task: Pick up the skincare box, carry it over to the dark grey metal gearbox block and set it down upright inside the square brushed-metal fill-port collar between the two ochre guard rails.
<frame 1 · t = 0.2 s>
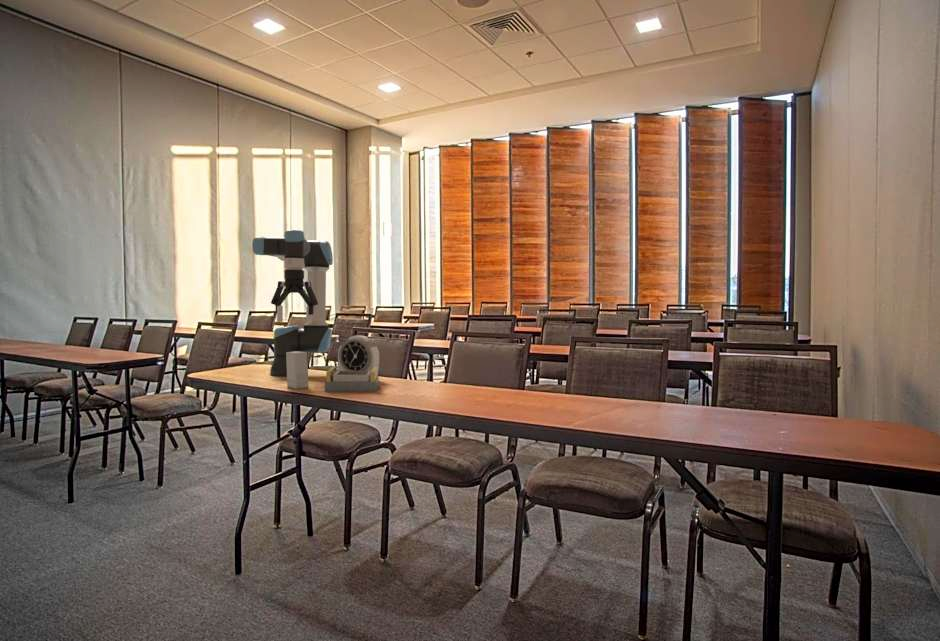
hand: (294, 322, 227), 27 cm above the table, fingers open, 13 cm apart
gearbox: (352, 388, 235), on the table
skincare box: (297, 387, 235), on the table
alarm clock: (358, 380, 259), on the table
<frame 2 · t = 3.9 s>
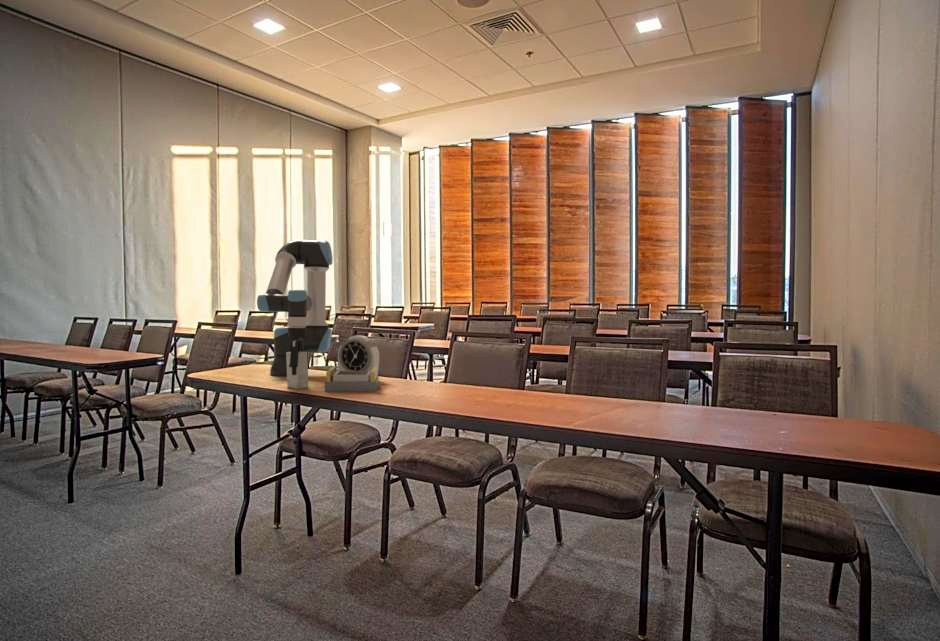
hand: (297, 381, 235), 3 cm above the table, fingers closed on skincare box, 10 cm apart
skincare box: (297, 387, 235), on the table, touching gripper
everything else where it was.
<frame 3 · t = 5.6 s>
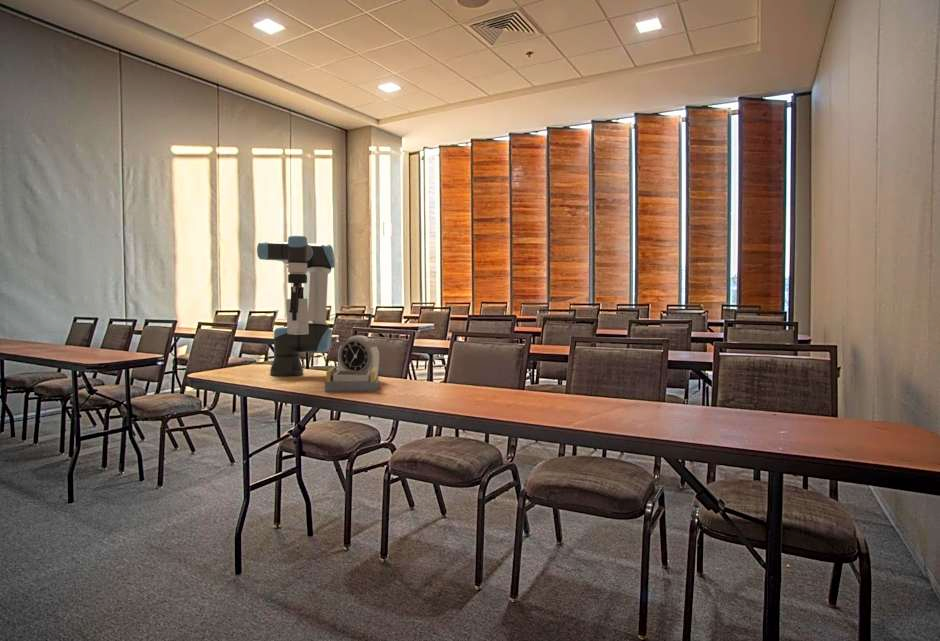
hand: (297, 327, 235), 25 cm above the table, fingers closed on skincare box, 10 cm apart
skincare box: (297, 334, 235), point 22 cm above the table, touching gripper
everything else where it was.
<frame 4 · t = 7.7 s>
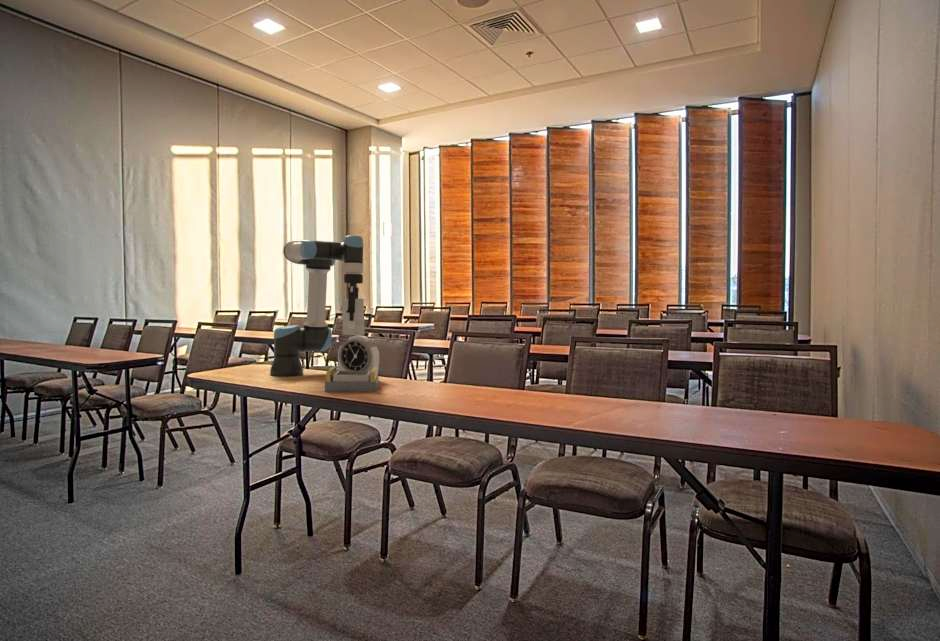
hand: (353, 328, 234), 25 cm above the table, fingers closed on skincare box, 10 cm apart
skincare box: (353, 335, 234), point 22 cm above the table, touching gripper
everything else where it was.
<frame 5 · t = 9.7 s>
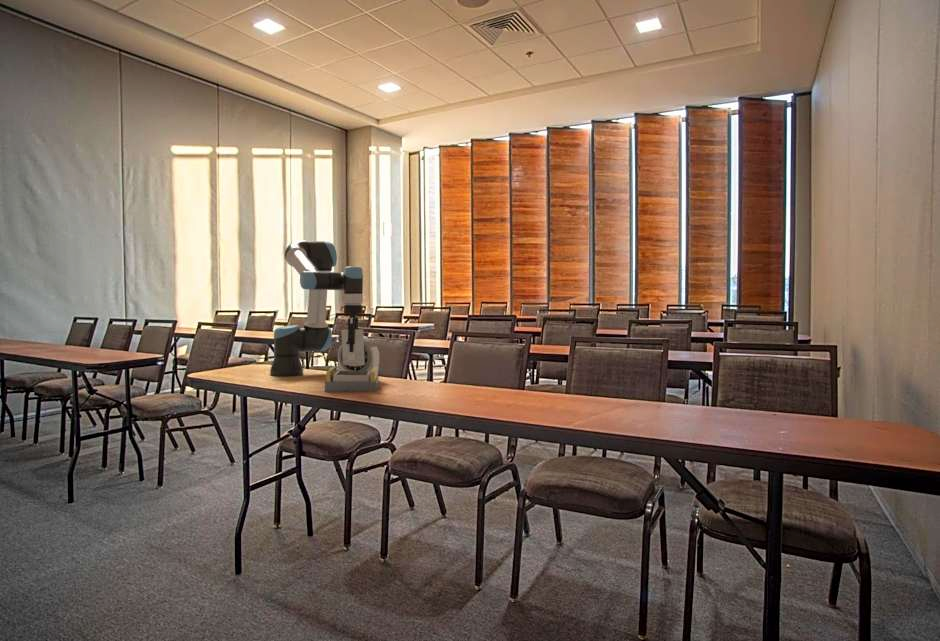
hand: (353, 358, 234), 12 cm above the table, fingers closed on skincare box, 10 cm apart
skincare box: (352, 365, 234), point 9 cm above the table, touching gripper
everything else where it was.
when the fingers open (8 cm above the table, at t = 11.6 s): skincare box drops 1 cm, resting on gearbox.
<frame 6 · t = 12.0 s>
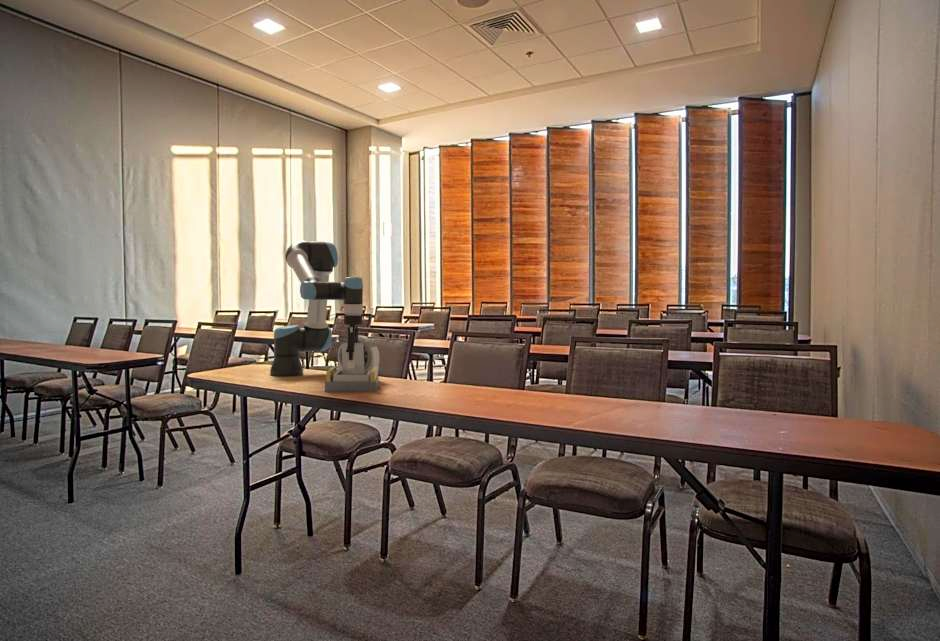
hand: (352, 366, 234), 9 cm above the table, fingers open, 13 cm apart
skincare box: (352, 379, 235), point 4 cm above the table, touching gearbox
everything else where it was.
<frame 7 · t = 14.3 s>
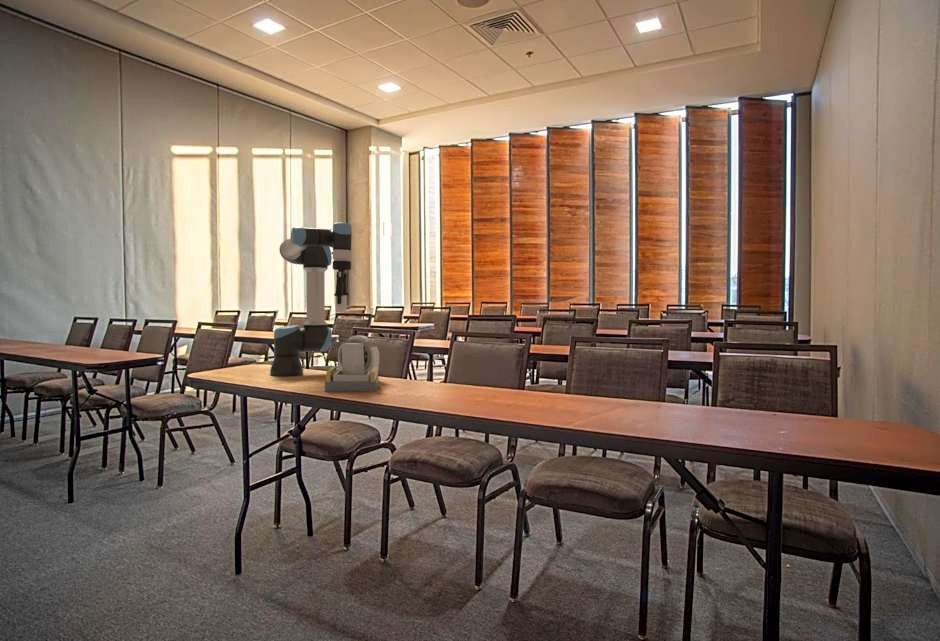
hand: (341, 311, 238), 32 cm above the table, fingers open, 13 cm apart
nothing on the table moved.
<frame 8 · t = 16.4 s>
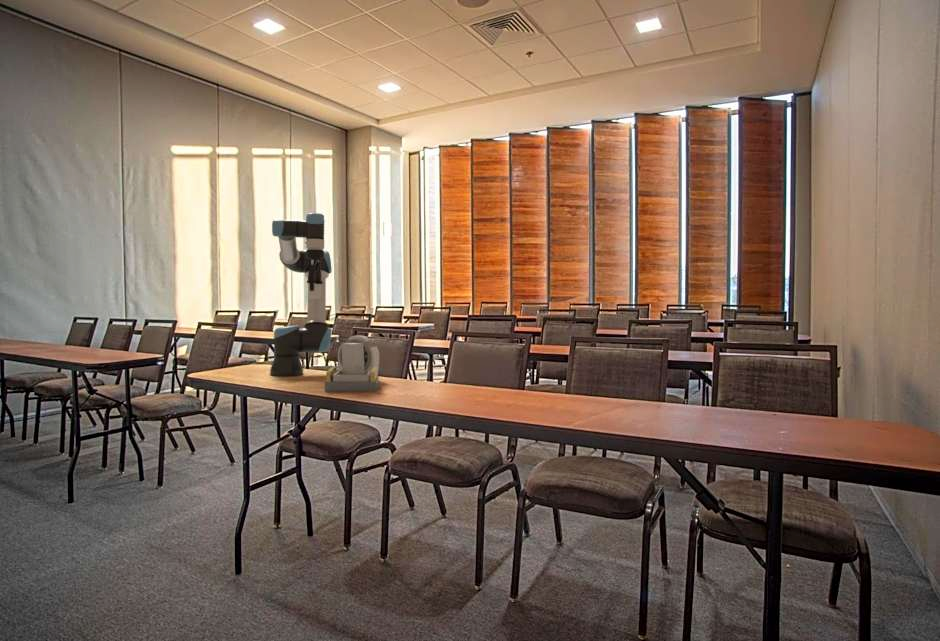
hand: (314, 298, 246), 37 cm above the table, fingers open, 13 cm apart
nothing on the table moved.
at the end: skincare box inside the target area on the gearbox (0.4 cm from its centre), point 3.8 cm above the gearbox's base; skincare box tilted 0°; the gripper is holding nothing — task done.
